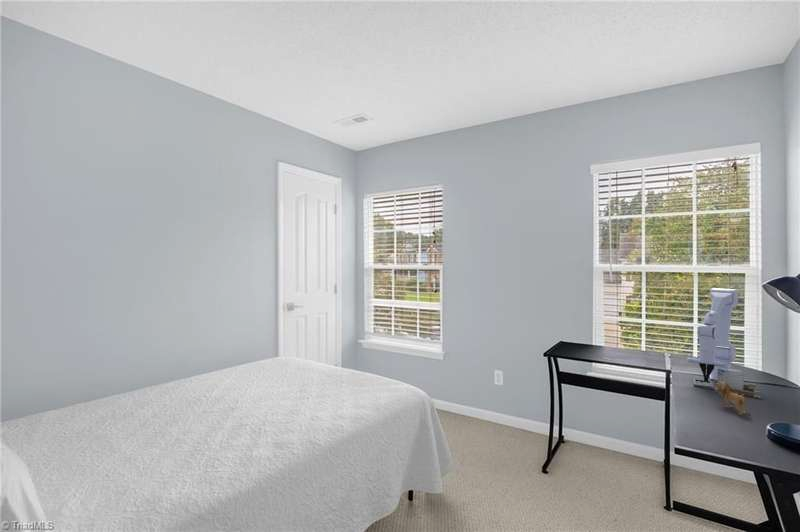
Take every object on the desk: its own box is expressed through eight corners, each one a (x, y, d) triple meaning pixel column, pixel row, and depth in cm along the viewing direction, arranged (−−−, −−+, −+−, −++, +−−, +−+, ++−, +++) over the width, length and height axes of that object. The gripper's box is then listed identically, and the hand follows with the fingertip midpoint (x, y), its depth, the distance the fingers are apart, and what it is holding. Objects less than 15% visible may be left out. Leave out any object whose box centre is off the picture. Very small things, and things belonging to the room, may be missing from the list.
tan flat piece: (714, 383, 181) (714, 377, 181) (754, 389, 173) (754, 384, 173) (717, 390, 169) (717, 385, 169) (760, 398, 161) (760, 392, 161)
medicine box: (735, 388, 174) (736, 369, 174) (743, 391, 169) (744, 372, 169) (716, 387, 175) (717, 368, 174) (724, 390, 170) (724, 370, 170)
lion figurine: (711, 403, 153) (712, 380, 153) (724, 403, 153) (725, 380, 153) (744, 417, 139) (745, 393, 139) (758, 418, 139) (760, 393, 139)
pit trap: (692, 380, 184) (693, 378, 184) (711, 383, 180) (711, 381, 180) (693, 386, 175) (694, 384, 175) (713, 389, 171) (713, 387, 171)
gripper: (687, 349, 178) (686, 379, 178) (728, 355, 169) (727, 386, 169) (687, 347, 183) (686, 375, 184) (727, 352, 175) (725, 382, 175)
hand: (706, 380), depth 177 cm, fingers closed
